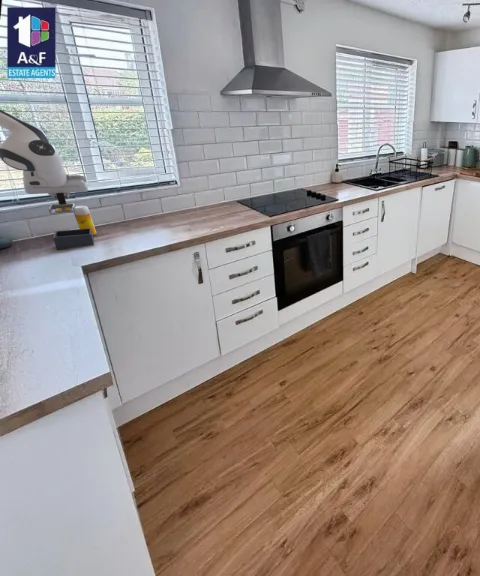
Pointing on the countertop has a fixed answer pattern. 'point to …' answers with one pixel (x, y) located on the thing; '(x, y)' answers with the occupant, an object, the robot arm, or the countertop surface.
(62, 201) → the grey square piece
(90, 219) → the glass of beer
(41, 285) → the countertop surface
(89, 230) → the bin
